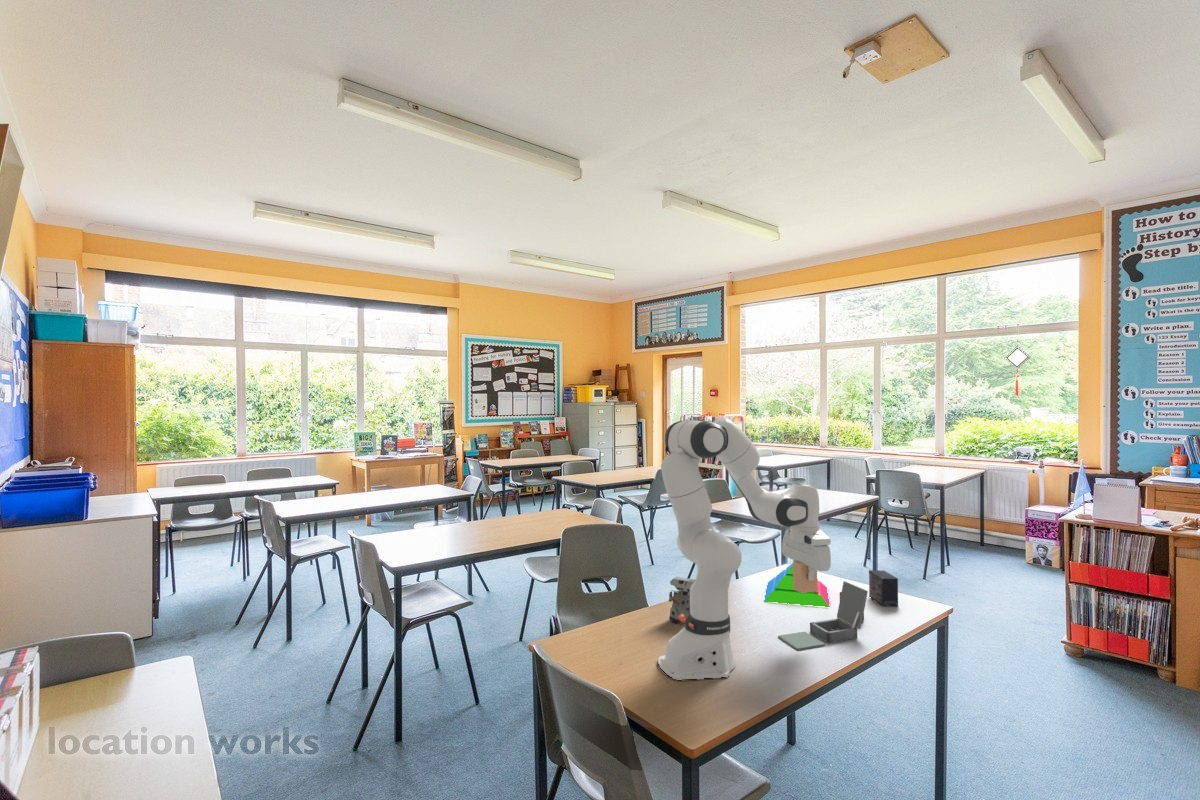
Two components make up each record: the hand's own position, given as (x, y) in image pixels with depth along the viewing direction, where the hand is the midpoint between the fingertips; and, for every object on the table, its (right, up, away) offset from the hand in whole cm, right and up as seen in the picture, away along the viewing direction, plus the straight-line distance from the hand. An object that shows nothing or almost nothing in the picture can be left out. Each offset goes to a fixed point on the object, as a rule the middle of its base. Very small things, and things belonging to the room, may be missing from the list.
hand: (804, 577), depth 177 cm
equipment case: (+13, -20, +4) cm, 24 cm away
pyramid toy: (+12, -21, +42) cm, 48 cm away
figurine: (-35, -21, +18) cm, 45 cm away
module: (0, -4, 0) cm, 4 cm away
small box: (+42, -20, +33) cm, 57 cm away
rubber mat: (-1, -20, -1) cm, 20 cm away
